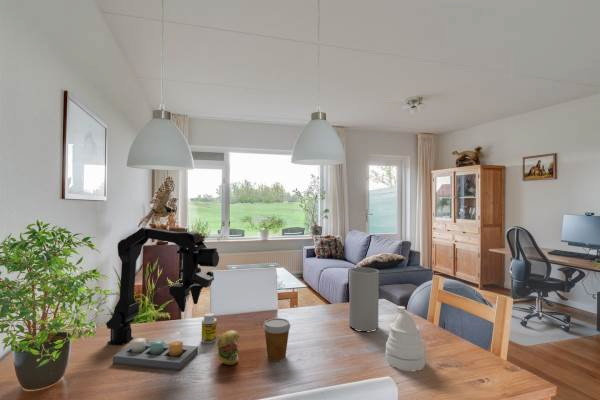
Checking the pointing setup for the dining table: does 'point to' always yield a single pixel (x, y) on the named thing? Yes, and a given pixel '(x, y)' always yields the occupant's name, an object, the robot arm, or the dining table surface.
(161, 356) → the panel
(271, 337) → the disposable coffee cup
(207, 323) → the supplement bottle
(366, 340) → the dining table surface
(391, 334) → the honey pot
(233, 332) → the hamburger
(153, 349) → the teal button
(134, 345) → the ivory button
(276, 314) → the dining table surface
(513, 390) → the dining table surface
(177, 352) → the orange button
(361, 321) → the cylinder vase
